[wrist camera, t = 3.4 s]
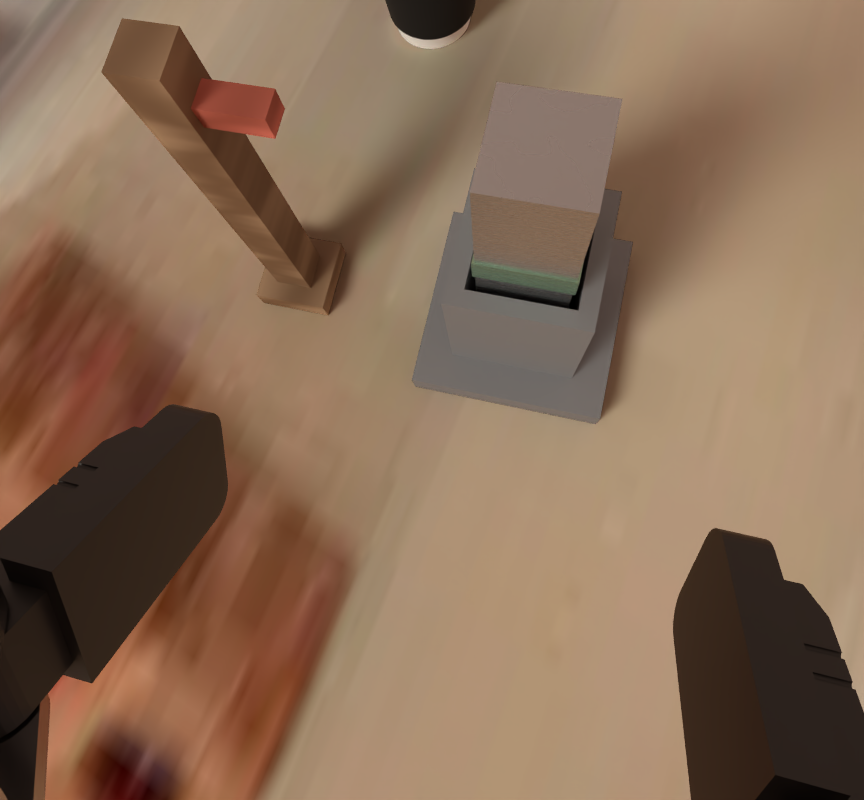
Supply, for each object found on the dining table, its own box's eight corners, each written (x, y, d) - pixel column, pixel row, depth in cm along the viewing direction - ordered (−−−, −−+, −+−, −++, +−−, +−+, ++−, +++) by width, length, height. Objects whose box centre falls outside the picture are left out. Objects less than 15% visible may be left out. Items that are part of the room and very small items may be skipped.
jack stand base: (415, 386, 35) (389, 335, 26) (455, 224, 37) (443, 126, 28) (595, 424, 33) (632, 384, 25) (627, 254, 35) (672, 160, 26)
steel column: (476, 336, 33) (465, 194, 19) (493, 264, 34) (494, 78, 20) (555, 351, 32) (602, 217, 19) (570, 277, 33) (626, 96, 19)
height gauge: (263, 302, 37) (62, 95, 19) (282, 241, 37) (104, -12, 20) (356, 320, 36) (230, 121, 19) (373, 257, 37) (267, 9, 19)
